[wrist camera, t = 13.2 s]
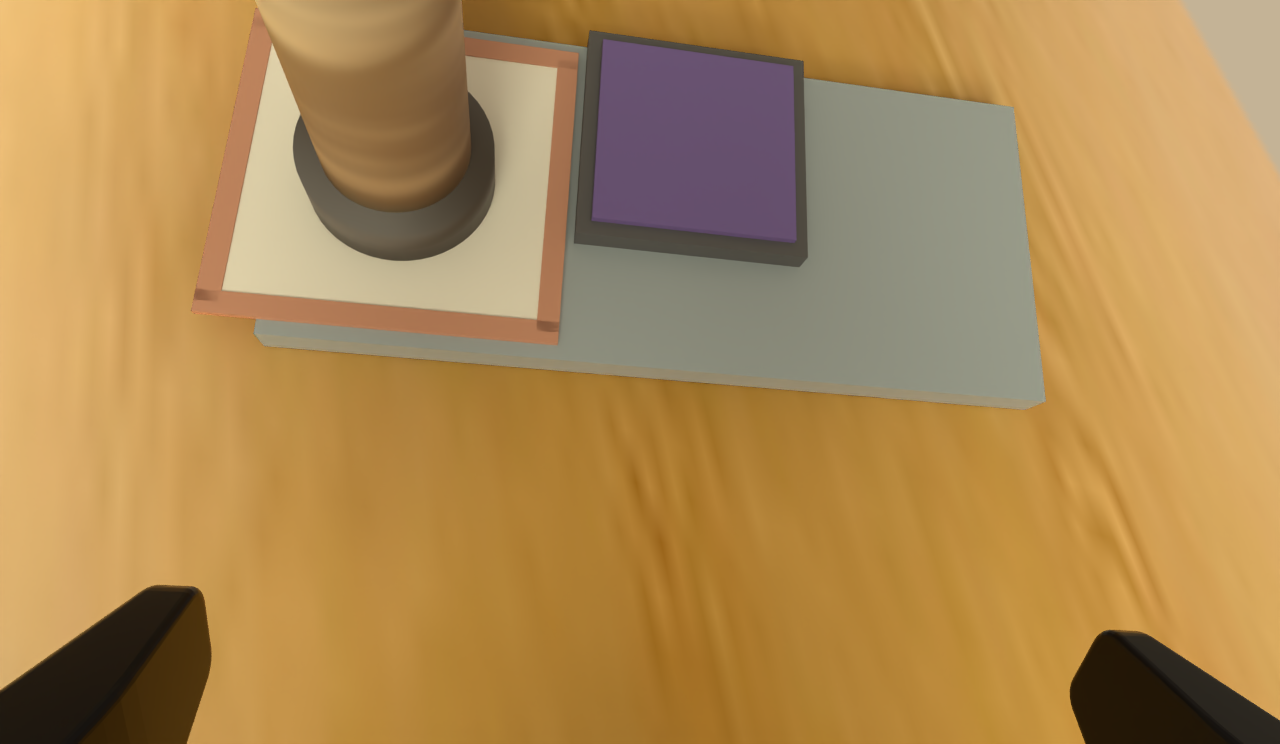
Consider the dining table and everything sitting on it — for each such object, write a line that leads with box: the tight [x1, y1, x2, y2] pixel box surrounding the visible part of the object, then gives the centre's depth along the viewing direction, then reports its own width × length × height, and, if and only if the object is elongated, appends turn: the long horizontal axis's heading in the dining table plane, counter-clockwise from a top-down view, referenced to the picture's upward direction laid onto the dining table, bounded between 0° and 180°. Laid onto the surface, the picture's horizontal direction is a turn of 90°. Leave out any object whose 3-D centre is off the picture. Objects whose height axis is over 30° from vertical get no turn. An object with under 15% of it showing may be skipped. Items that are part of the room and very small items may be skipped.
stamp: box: [255, 0, 495, 261], centre depth 16 cm, size 5×5×13 cm
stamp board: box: [191, 8, 1046, 410], centre depth 24 cm, size 24×10×2 cm, turn 88°
